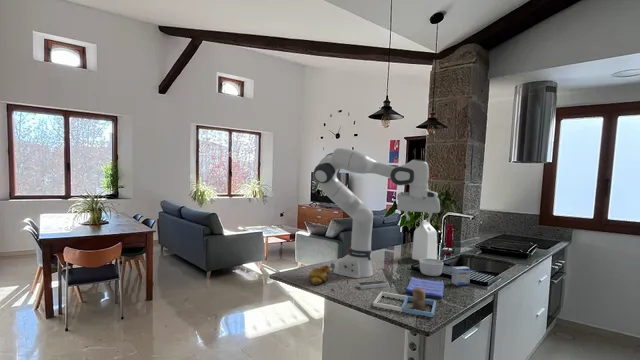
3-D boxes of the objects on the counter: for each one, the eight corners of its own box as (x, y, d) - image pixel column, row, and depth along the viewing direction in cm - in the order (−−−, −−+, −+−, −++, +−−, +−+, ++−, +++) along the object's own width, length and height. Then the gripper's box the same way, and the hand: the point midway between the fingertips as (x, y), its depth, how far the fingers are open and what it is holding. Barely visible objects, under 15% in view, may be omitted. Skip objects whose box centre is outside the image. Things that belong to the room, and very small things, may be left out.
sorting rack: (372, 307, 144) (373, 302, 144) (380, 295, 158) (381, 291, 158) (432, 318, 135) (432, 313, 135) (435, 305, 148) (436, 300, 148)
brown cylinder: (412, 309, 142) (412, 290, 142) (413, 305, 147) (413, 287, 147) (424, 311, 141) (424, 292, 140) (425, 307, 145) (425, 289, 145)
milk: (422, 255, 233) (423, 218, 232) (437, 259, 224) (438, 220, 223) (411, 258, 225) (412, 219, 224) (427, 262, 217) (428, 222, 216)
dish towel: (404, 294, 161) (404, 289, 161) (410, 280, 183) (410, 274, 183) (442, 300, 155) (442, 294, 154) (444, 284, 177) (444, 279, 176)
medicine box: (456, 285, 174) (457, 269, 173) (451, 282, 178) (451, 266, 178) (469, 284, 176) (470, 268, 176) (464, 281, 180) (464, 265, 180)
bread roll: (321, 287, 167) (321, 271, 167) (303, 284, 171) (303, 268, 171) (330, 279, 179) (331, 264, 179) (314, 277, 183) (314, 262, 183)
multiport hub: (357, 287, 170) (357, 282, 170) (383, 284, 174) (383, 280, 174) (361, 290, 165) (361, 285, 165) (387, 287, 170) (387, 283, 170)
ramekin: (446, 277, 188) (446, 264, 187) (422, 276, 188) (423, 264, 188) (438, 270, 201) (438, 258, 201) (416, 269, 201) (416, 257, 201)
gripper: (396, 192, 166) (395, 220, 167) (440, 194, 158) (439, 223, 158) (398, 191, 172) (397, 218, 172) (441, 193, 164) (440, 221, 164)
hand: (417, 221), depth 165 cm, fingers open, 8 cm apart
